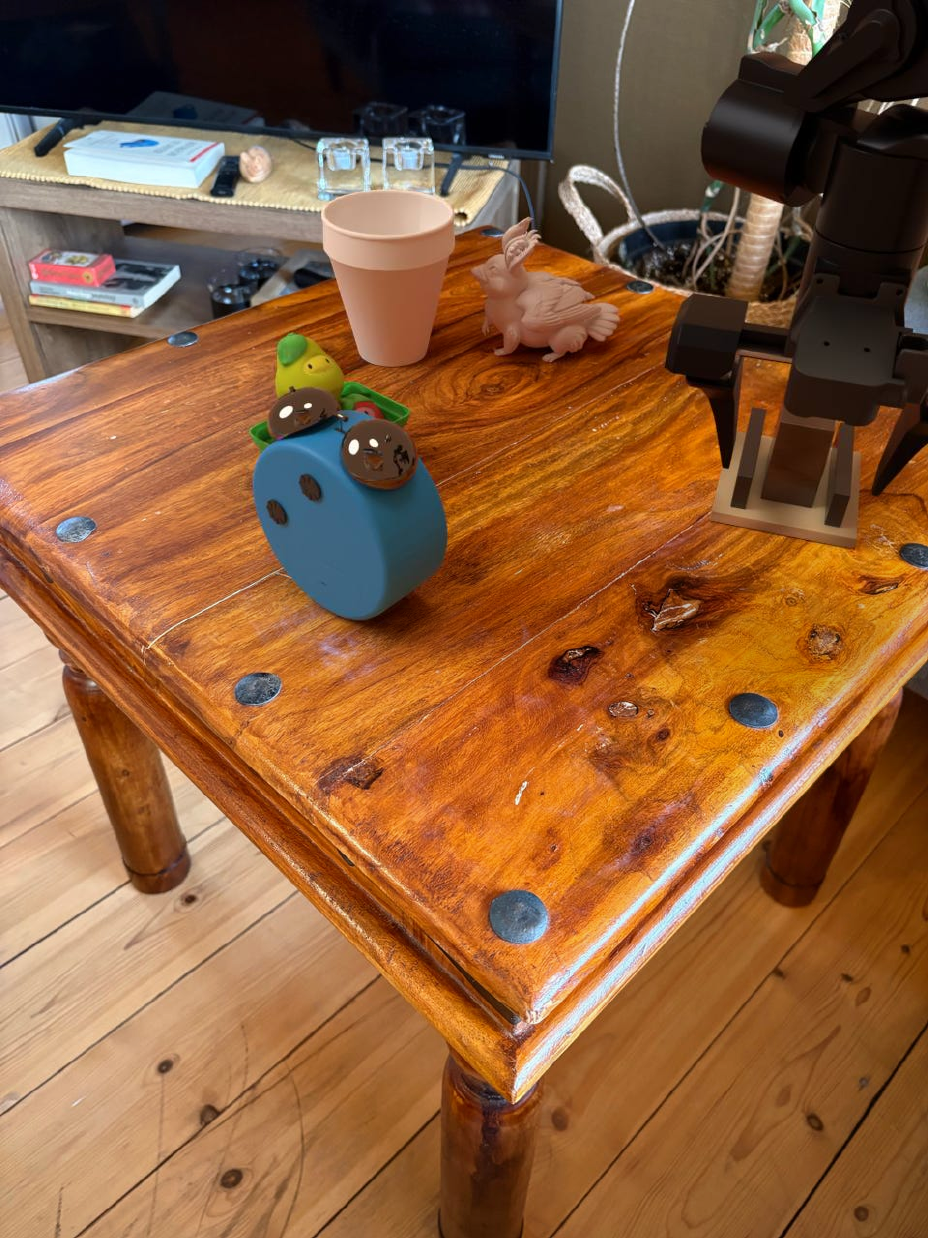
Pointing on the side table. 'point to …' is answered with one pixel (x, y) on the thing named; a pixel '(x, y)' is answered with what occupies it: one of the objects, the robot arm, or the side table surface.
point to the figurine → (538, 301)
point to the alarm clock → (347, 505)
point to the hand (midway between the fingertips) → (799, 479)
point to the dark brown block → (797, 458)
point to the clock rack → (821, 523)
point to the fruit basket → (323, 385)
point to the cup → (389, 268)
